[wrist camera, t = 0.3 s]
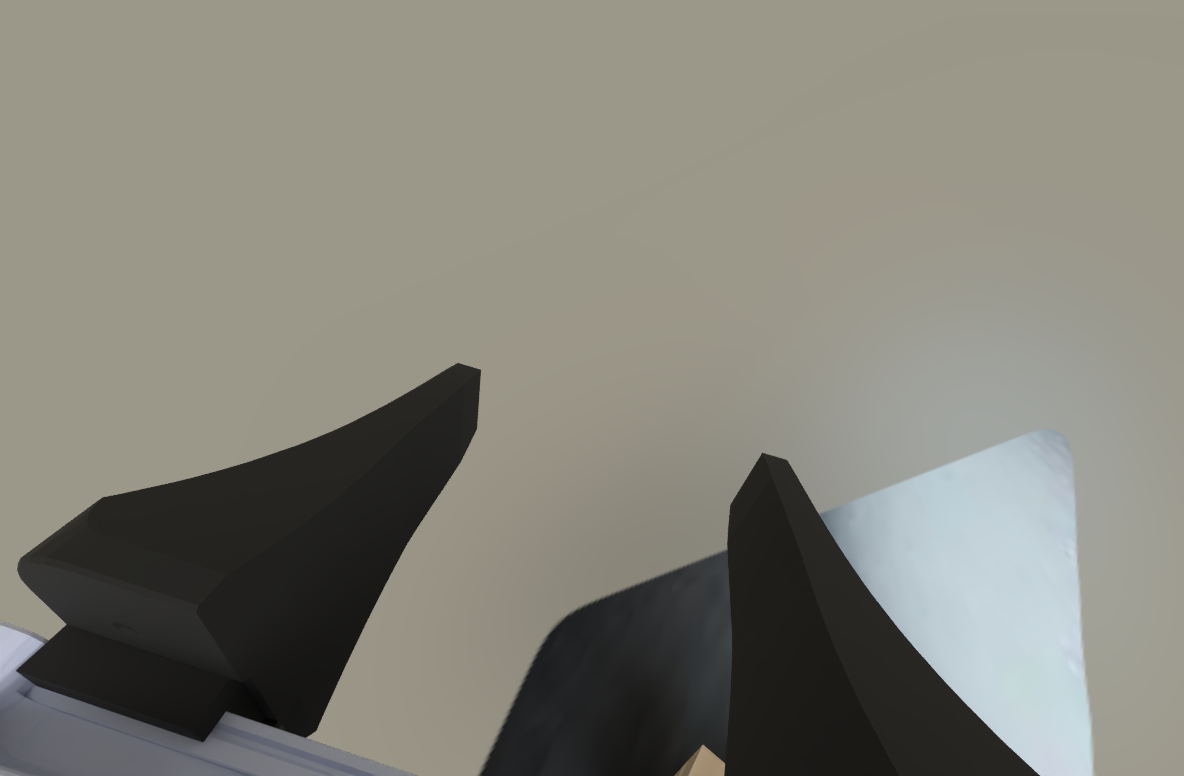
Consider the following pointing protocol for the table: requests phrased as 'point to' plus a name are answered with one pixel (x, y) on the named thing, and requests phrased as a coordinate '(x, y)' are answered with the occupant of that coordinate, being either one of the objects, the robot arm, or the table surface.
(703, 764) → the domino
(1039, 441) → the table surface
